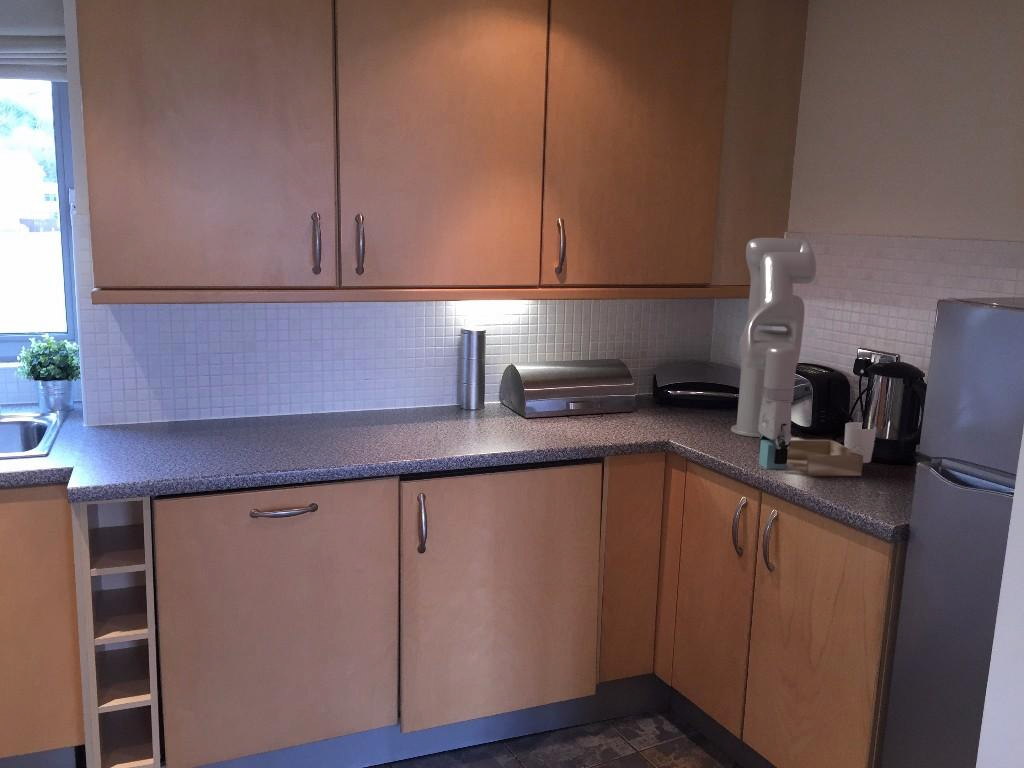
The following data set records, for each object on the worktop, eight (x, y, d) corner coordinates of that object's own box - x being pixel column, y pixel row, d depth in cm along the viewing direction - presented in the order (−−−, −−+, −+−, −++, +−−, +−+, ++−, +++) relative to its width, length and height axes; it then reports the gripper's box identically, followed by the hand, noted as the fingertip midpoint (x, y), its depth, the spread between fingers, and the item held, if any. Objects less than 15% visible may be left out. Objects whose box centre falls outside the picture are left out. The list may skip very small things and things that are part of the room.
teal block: (758, 465, 231) (760, 439, 229) (776, 465, 231) (779, 440, 230) (766, 471, 226) (768, 444, 224) (784, 471, 226) (787, 444, 225)
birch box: (780, 459, 237) (782, 439, 236) (830, 459, 239) (832, 439, 238) (807, 477, 221) (809, 456, 220) (861, 477, 223) (863, 456, 222)
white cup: (865, 457, 242) (869, 422, 240) (877, 465, 234) (881, 429, 232) (837, 457, 242) (840, 421, 240) (848, 465, 234) (852, 428, 232)
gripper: (751, 387, 233) (746, 450, 236) (778, 401, 216) (772, 468, 219) (778, 387, 234) (772, 449, 237) (807, 401, 217) (800, 467, 220)
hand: (772, 458), depth 228 cm, fingers open, 9 cm apart
